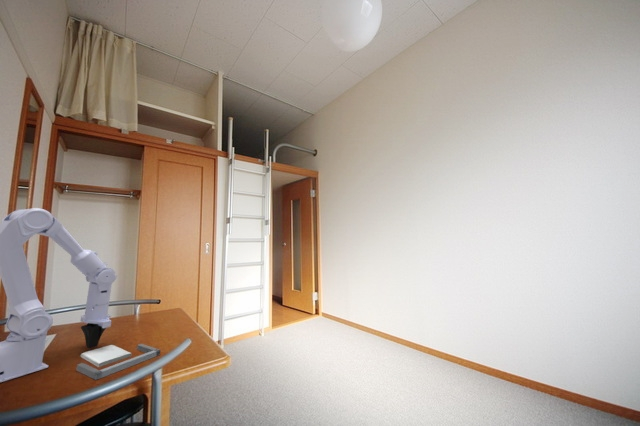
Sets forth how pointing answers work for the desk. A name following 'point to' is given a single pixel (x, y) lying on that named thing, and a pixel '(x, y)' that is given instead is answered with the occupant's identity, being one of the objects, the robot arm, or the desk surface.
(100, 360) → the hard drive
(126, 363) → the drive bay
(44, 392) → the desk surface
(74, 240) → the robot arm
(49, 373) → the desk surface
